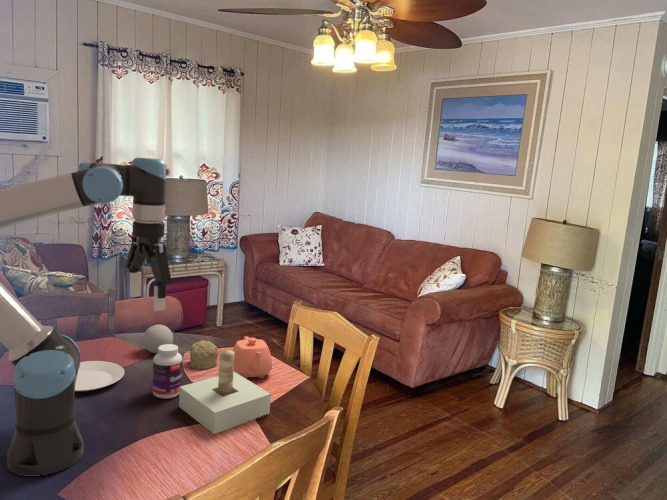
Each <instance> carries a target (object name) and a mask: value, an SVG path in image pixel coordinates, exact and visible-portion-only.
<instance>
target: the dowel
mask: <svg viewBox="0 0 667 500" xmlns="http://www.w3.org/2000/svg"><path fill="white" fill-rule="evenodd" d="M218 357H219V362H218V376H219V379H218V394H219V395H221V396H222V397H223V396H226V395H230V394H232V392H233V372H234V352H233V350H229V349H225V350H221V351H220V352H219V356H218Z"/></svg>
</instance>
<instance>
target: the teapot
mask: <svg viewBox="0 0 667 500" xmlns="http://www.w3.org/2000/svg"><path fill="white" fill-rule="evenodd" d="M232 351H233V352H234V372H235V373H237V374H239V375H240V376H242V377H244V378H245V379H247V380H248V378H258V379H265V377H266V375H269V374H270V373H271V371H272V369H273V360H272V359H273V358H272V354H271V351H270V349H269V346H268V345H267V342H266V341H265V340H264V339H259V338H258V339H257V338H256V337H249V336H246V335H245V336H243V339H241V340H237V341H236V343H235V344H234V347H233V349H232Z"/></svg>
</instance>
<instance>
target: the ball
mask: <svg viewBox="0 0 667 500" xmlns="http://www.w3.org/2000/svg"><path fill="white" fill-rule="evenodd" d="M142 342H143V346H144V348H145V350H147V351H148V352H150V353H152V354H155V355H157V354H158V347H159V346H161V345H164V344H173V342H174V334H173V332H172V330H171V329H170V328H169V327H168V326H166V325H163V324H155V325H152V326H150V327H148V328H147V329H146V330H145V331H144V333H143V337H142Z"/></svg>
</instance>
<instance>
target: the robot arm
mask: <svg viewBox="0 0 667 500" xmlns="http://www.w3.org/2000/svg"><path fill="white" fill-rule="evenodd" d="M166 169H167V168H166V162H165V161H164V160H163V159H160V158H150V157H135V158H133V163H132V164H117V163H116V164H115V163H106V162H105V163H104V162H96V161H93V162H92V161H90V162H87V161H86V162H80V163H79V165H78V169H77V171H73V172H69V173H65V174H60V175H56V176H52V177H47V178H44V179H40V180H34V181H31V182H27V183H22V184H18V185H14V186H9V187H5V188H1V189H0V229H3V228H8V227H12V226H14V225H15V226H16V225H19V224H23V223H26V222H27V223H28V222H30V221H34V220H39V219H43V218H46V217H50V216H54V215H57V214H61V213H66V212H68V211H73V210H75V209H76V210H77V209H80V208H83V207H89V206H94V205H97V204H107V203H111V202H114V201H115V200H117V199H118V198H119V197H120V196H121V197H132V219H133V220H134V221H133V222H132V233H131V234H132V237H131V243H130V248H129V253H128V256H127V260H126V264H125V268H126V269H128V272H129V298H137V297H138V298H139V297H141V296H142V271H143V268H142V267H143V265H144V263H145V262H146V261H147V262H148V263H149V265H150V268H151V271H152V274H153V275H152V276H153V277H154V281H155V282H154V284H153V286H154V287H153V311H154V312H158V311H165V310H166V307H167V306H166V304H167V303H166V302H167V301H166V300H167V298H166V297H167V285H171V284H172V276H171V271H170V265H169V261H168V255H167V245H166V243H163V244H162V243H161V244H160V240H159V239H161V238H164V237H165V222H164V220H165V217H166V216H165V212H166V211H167V209H166V190H167V186H166V184H167V170H166ZM0 343H1V344H3V346H4V347H5V348H6V349H7V350H8V361H9V362H10V363H11V364H12V365H13V366H14V367H15V368H14V373H13V376H12V382H13V383H12V384H13V389H14V416H15V418H14V419H15V421H14V422H15V431H14V435H13V436H12V440H11V442H10V445H9V448H8V450H7V454H6V466H8V467H7V469H8V468H9V469H10V470H11V471H13V472H15V473H17V474H22V475H43V474H50V473H54V472H57V473H59V472H58V471H60V472H62V471H64V469H65V470H67V469H68V468H70V467H72V466H74V465H75V464H76V463H77V462H79V460H81V458H82V457H83V455H84V440H83V437H82V434H81V432H80V430H79V427H78V425H77V422H76V418H75V417H76V403H75V399H76V397H75V396H76V394H75V393H76V391H75V384H76V379H77V374H78V370H79V367H80V362H82V361H81V352H80V348H79V346H78V345H77V343H76V342H75V341H74V340H73V339H72V338H71V337H69V336H67V335H65V334H63V333H62V334H60V333H59V332H58V331H57V330H56V329H55V327H54V326H52V325H42V324H41V323H40V322H39V321H38V320H37V319H36V318H35V316H34V315H32V313H31V312H30V311H28V309H27V308H26V307H25V306H24V305H23V304H22V303H21V302H20V301H19V300H18V299H17V298H16V297H15V296H14V295H13V294H12V293H11V292H10V290H9V289H7V287H6V286H5V285H4V284H3V283H2V282H1V281H0ZM66 468H67V469H66ZM9 469H8V470H9ZM10 470H9V471H10ZM61 470H62V471H61ZM11 471H10V472H11ZM54 474H55V473H54ZM50 475H51V474H50Z"/></svg>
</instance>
